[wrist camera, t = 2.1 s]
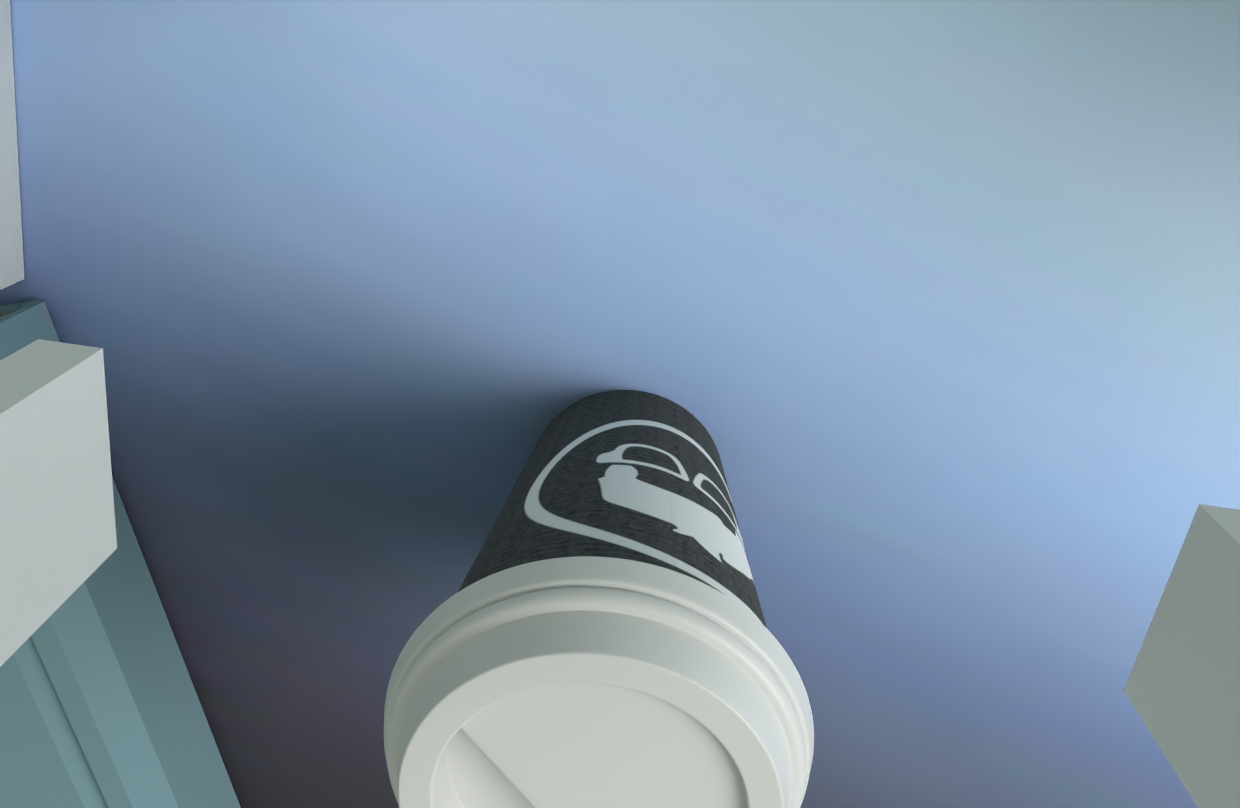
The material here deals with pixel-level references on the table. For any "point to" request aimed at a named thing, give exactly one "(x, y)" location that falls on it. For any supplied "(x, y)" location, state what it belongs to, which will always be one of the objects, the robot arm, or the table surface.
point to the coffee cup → (604, 639)
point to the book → (103, 683)
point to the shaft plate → (9, 162)
